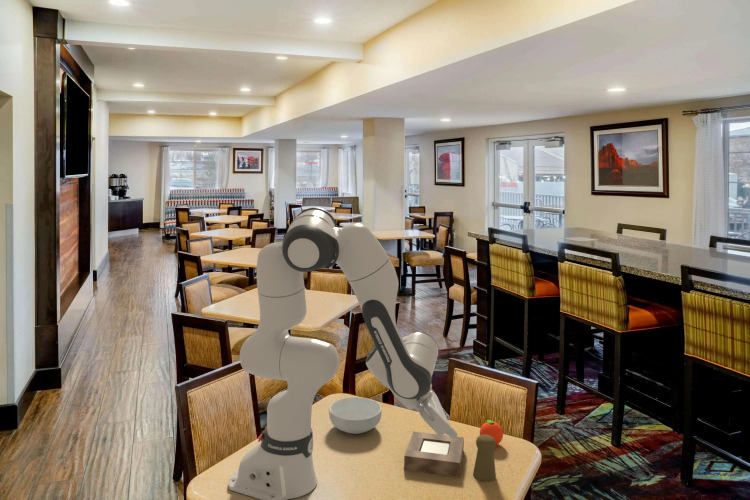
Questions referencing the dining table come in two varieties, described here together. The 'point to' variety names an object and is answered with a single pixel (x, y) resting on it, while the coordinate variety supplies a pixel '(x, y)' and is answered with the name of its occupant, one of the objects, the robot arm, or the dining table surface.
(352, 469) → the dining table surface
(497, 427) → the clementine
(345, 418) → the cereal bowl
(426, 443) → the cream square tile
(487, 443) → the olive pepper mill
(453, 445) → the socket block
